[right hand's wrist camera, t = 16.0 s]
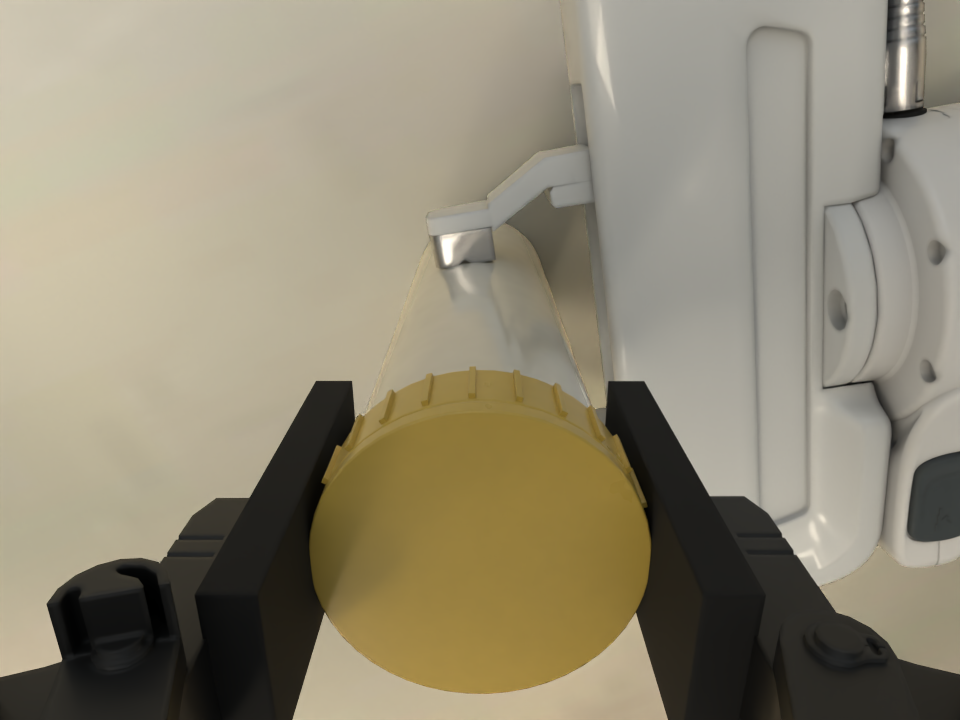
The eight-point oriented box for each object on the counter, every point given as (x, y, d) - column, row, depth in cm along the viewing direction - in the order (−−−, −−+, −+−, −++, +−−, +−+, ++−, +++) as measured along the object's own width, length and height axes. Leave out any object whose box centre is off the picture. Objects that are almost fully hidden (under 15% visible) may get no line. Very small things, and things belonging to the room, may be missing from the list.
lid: (618, 339, 11) (640, 378, 10) (647, 608, 13) (669, 675, 12) (288, 393, 11) (259, 439, 10) (365, 647, 13) (352, 716, 12)
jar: (563, 307, 28) (675, 595, 12) (453, 359, 28) (420, 693, 13) (508, 194, 26) (554, 352, 10) (394, 253, 27) (270, 485, 11)
